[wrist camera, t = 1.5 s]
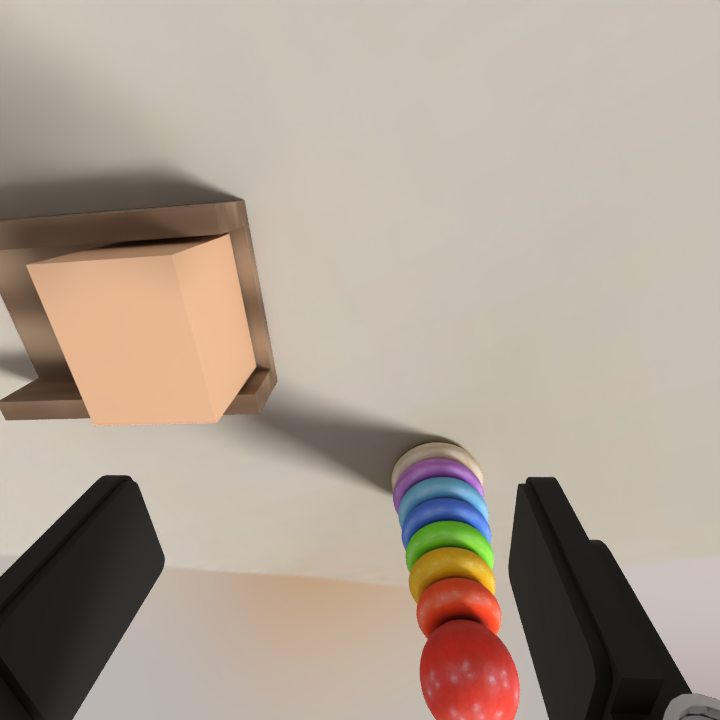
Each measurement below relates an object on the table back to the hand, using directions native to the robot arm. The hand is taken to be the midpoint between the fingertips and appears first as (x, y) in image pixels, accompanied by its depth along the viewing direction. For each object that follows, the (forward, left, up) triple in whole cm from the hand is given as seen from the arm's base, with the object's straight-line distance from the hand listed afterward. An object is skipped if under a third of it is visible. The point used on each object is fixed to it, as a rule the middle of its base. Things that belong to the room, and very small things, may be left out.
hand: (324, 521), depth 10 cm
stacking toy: (+17, +5, -22) cm, 28 cm away
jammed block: (0, -13, -20) cm, 24 cm away
